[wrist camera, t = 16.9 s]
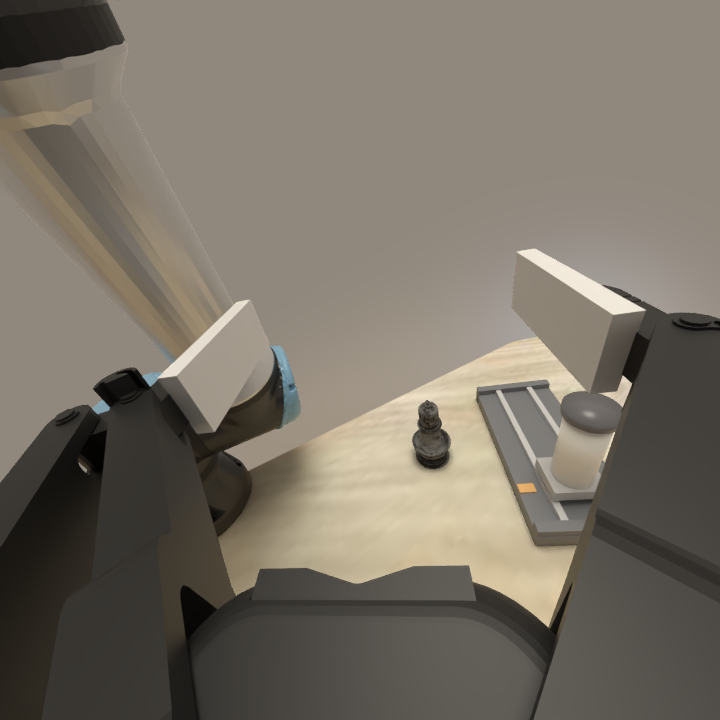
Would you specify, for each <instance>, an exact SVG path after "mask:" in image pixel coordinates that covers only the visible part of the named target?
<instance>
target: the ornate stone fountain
mask: <svg viewBox="0 0 720 720" xmlns="http://www.w3.org/2000/svg"><path fill="white" fill-rule="evenodd" d="M418 412H419V420H418V423H417V425H418V427H419V430H418V431H417V432H416V433H415V434H414V436H413V439H412V442H413V446H414V448H415V449H416V450H417V452H416V456H417V460H418V461H419V463H420V464H421V465H423V466H424V467H427V468H430V469H437V468H440V467H443V466H444V465H446V463H447V462H448V460H449V451H448V449H449V447H450V444H451V439H450V437H449V435H448V433H447V432H446V431H444V430H443V429H441V425H442V422H441V420H440V418H439V415H438V408H437V406H436V404H434V403H433V402H429V401H428V400H427V401H425V402H424V403H422V404H421V405H420V406H419V409H418Z"/></svg>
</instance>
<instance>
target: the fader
mask: <svg viewBox="0 0 720 720" xmlns="http://www.w3.org/2000/svg"><path fill="white" fill-rule="evenodd" d="M622 409H623V408H622V407H621V405H620V404H618V403H617V402H616V401H614V400H613V399H611V398H609V397H607V396H604V395H602V394H598V393H595V394H589V393H588V392H586V391H580V392H573V393H570V394H568V395H566V396H565V397H564V398H563V400H562V403H561V407H560V413H561V415H562V417H563V418H562V422H561V426H560V430H559V434H558V438H557V442H556V446H555V450H554V454H553V457H543V458H536V463H535V467H536V469H537V471H538V473H539V475H540V476H541V478H542V480H543V482H544V484H545V486H546V488H547V490H548V492H549V494H550V496H551V498H552V500H553V501H564V500H584V499H593V497H594V494H595V492H596V489H597V486H598V483H599V480H600V477H601V474H600V473H599V471H598V470H599V467H600V465H601V462H602V460H603V457H604V455H605V452H606V450H607V447H608V445H609V442H610V439H611V437H612V434H613V432H616V429H617V426H618V423H619V420H620V417H621V414H622V412H621V411H622Z"/></svg>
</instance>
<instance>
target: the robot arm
mask: <svg viewBox="0 0 720 720" xmlns="http://www.w3.org/2000/svg"><path fill="white" fill-rule="evenodd" d="M128 49H129V48H128V45H127V43H126V41H125V39H124V37H123V35H122V32H121V30H120V29H119V26H118V24H117V22H116V20H115V18H114V16H113V13H112V11H111V9H110V7H109V5H108V3H107V0H0V189H2V191H3V192H4V193H5V194H6V195H7V196H8V197H9V198H10V199H11V200H12V201H13V202H14V203H15V204H16V205H17V206H18V207H19V208H20V209H21V210H22V211H23V212H24V213H25V214H26V215H27V216H28V217H29V218H30V219H31V220H32V221H33V222H34V223H35V224H36V225H37V226H38V228H40V230H41V231H42V232H43V233H44V234H45V235H46V236H47V237H48V238H49V239H50V240H51V241H52V242H53V243H54V244H55V245H56V246H57V247H58V248H59V249H60V250H61V251H62V252H63V253H64V254H65V255H66V256H67V257H68V258H69V259H70V260H71V261H72V262H73V263H74V264H75V265H76V266H77V267H78V268H79V269H80V270H81V271H82V272H83V273H84V275H85V276H86V277H87V278H88V279H89V280H90V281H91V282H92V283H93V284H94V285H95V286H96V287H97V288H98V289H99V290H100V291H101V292H102V293H103V294H104V295H105V296H106V297H107V298H108V299H109V300H110V301H111V302H112V303H113V304H114V305H115V306H116V307H117V308H118V309H119V310H120V311H121V312H122V313H123V314H124V315H125V316H126V317H127V319H129V321H130V322H131V323H132V324H133V325H134V326H135V327H136V328H137V329H138V330H139V331H140V332H141V333H142V334H143V335H144V336H145V337H146V338H147V339H148V340H149V341H150V342H151V343H152V344H153V345H154V346H155V347H156V348H157V349H158V350H159V351H160V352H161V353H162V354H163V355H164V356H165V357H166V358H167V359H168V360H169V362H171V364H172V365H170V366H169V367H168V368H167V369H166V370H165V371H164V372H163V373H150V374H146V375H144V376H142V375H141V374H140V373H139V371H138V370H137V369H136V368H127V369H123V370H120V371H117V372H115V373H113V374H111V375H109V376H107V377H105V378H104V379H102V380H101V381H99V382H98V383H97V384H96V385H95V387H94V388H93V389H94V391H95V392H96V393H97V394H98V395H99V396H100V397H101V398H102V399H103V400H102V401H100V402H99V403H98V404H97V405H96V406H95V407H93V408H91V407H90V406H89V405H81V406H77V407H75V408H72V409H67V410H65V411H64V412H62V413H60V414H58V415H57V416H56V417H55V418H54V419H53V420H52V421H50V422H49V423H48V424H47V425H46V426H45V427H44V429H43V430H42V431H41V432H40V434H39V435H38V436H37V437H36V439H35V440H34V441H33V442H32V444H31V445H30V446H29V447H28V449H27V450H26V451H25V452H24V454H23V455H22V456H21V458H20V459H19V460H18V461H17V463H16V464H15V465H14V466H13V468H12V469H11V470H10V472H9V473H8V474H7V475H6V476H5V478H4V479H3V480H2V481H1V483H0V720H720V319H718V318H715V317H712V316H709V315H702V314H696V313H670V314H666V313H665V312H663V311H661V310H659V309H657V308H655V307H653V306H651V305H649V304H647V303H645V302H644V301H643V302H641V300H640V299H638V298H636V297H634V296H633V297H632V296H631V295H630V294H628V293H626V292H624V291H623V290H621V289H617V288H614V287H610V286H606V285H600V284H598V283H596V282H594V281H593V280H591V279H589V278H587V277H585V276H583V275H582V274H580V273H578V272H576V271H574V270H573V269H571V268H569V267H567V266H565V265H563V264H562V263H560V262H558V261H556V260H555V259H553V258H551V257H549V256H547V255H545V254H544V253H542V252H540V251H538V250H536V249H530V250H523V251H518V252H517V253H516V264H515V275H514V286H513V297H512V309H513V310H514V311H515V312H516V313H517V314H518V315H519V316H520V317H521V319H522V320H523V321H524V322H525V323H526V324H527V325H528V326H529V327H530V328H531V330H532V331H533V332H534V333H535V334H536V335H537V336H538V338H539V339H540V340H541V341H542V342H543V343H544V344H545V345H546V346H547V347H548V349H549V350H550V351H551V352H552V353H553V354H554V355H555V356H556V357H557V359H558V360H559V361H560V362H561V363H562V364H563V365H564V366H565V367H566V369H567V370H568V371H569V372H570V373H571V374H572V375H573V376H574V377H575V379H576V380H577V381H578V382H579V383H580V384H581V385H582V386H583V387H584V388H585V390H586V391H587V392H588V393H589V394H595V393H605V392H615V391H617V389H618V387H619V384H620V381H621V378H622V376H624V377H626V378H627V379H628V380H629V381H630V382H631V383H632V386H631V389H630V391H629V394H628V396H627V399H626V401H625V404H624V406H623V409H622V411H621V412H622V414H621V417H620V420H619V423H618V426H617V429H616V432H615V435H614V438H613V441H612V444H611V447H610V450H609V453H608V456H607V459H606V462H605V465H604V468H603V471H602V474H601V477H600V480H599V483H598V486H597V489H596V492H595V494H594V497H593V500H592V503H591V506H590V509H589V512H588V515H587V518H586V521H585V524H584V527H583V530H582V533H581V536H580V539H579V542H578V545H577V548H576V551H575V554H574V557H573V560H572V563H571V566H570V569H569V572H568V575H567V578H566V580H565V583H564V586H563V589H562V592H561V594H560V597H559V600H558V602H557V605H556V608H555V610H554V613H553V616H552V619H551V622H550V625H549V627H547V626H546V625H545V624H544V623H542V622H541V621H540V620H539V619H538V618H537V617H536V616H534V615H533V614H532V613H531V612H529V611H528V610H527V609H525V608H524V607H523V606H521V605H520V604H518V603H517V602H516V601H514V600H512V599H510V598H509V597H507V596H505V595H503V594H502V593H500V592H498V591H496V590H493V589H491V588H489V587H486V586H484V585H481V584H477V583H474V582H472V577H471V573H470V568H469V566H413V567H410V568H407V569H404V570H401V571H398V572H395V573H392V574H389V575H385V576H382V577H379V578H376V579H373V580H370V581H367V582H364V583H360V584H354V583H350V582H347V581H344V580H341V579H338V578H335V577H332V576H329V575H326V574H323V573H320V572H317V571H314V570H311V569H308V568H287V569H260V571H259V574H258V578H257V581H256V584H255V587H252V588H250V589H248V590H246V591H244V592H242V593H240V594H239V595H237V596H236V595H235V593H234V591H233V589H232V587H231V584H230V581H229V577H228V574H227V570H226V567H225V563H224V559H223V556H222V552H221V549H220V545H219V542H218V538H217V536H219V535H220V534H221V533H222V532H224V531H225V530H226V529H227V528H228V527H229V526H230V525H231V524H232V523H233V522H234V521H235V519H236V518H237V517H238V516H239V514H240V513H241V511H242V510H243V508H244V506H245V504H246V502H247V500H248V498H249V495H250V491H251V477H250V474H249V472H248V471H247V469H246V468H245V466H244V465H243V463H242V462H241V461H240V460H238V459H237V458H235V457H233V456H232V455H230V454H228V453H226V452H224V450H226V449H229V448H231V447H233V446H236V445H238V444H240V443H243V442H245V441H248V440H250V439H252V438H255V437H257V436H260V435H262V434H264V433H267V432H269V431H272V430H274V429H280V428H282V427H283V425H285V424H288V423H290V422H292V421H294V420H295V419H297V418H298V416H299V415H300V411H301V406H300V401H299V396H298V392H297V389H296V386H295V382H294V378H293V375H292V371H291V368H290V365H289V362H288V360H287V357H286V355H285V352H284V350H283V348H282V347H280V346H269V342H268V340H267V337H266V335H265V333H264V330H263V328H262V326H261V323H260V321H259V319H258V316H257V314H256V312H255V310H254V307H253V305H252V303H251V300H245V301H240V302H236V303H235V305H234V304H233V302H232V300H231V298H230V297H229V294H228V293H227V291H226V289H225V287H224V285H223V283H222V281H221V280H220V278H219V276H218V274H217V272H216V270H215V268H214V266H213V265H212V263H211V261H210V259H209V257H208V255H207V253H206V251H205V249H204V248H203V246H202V244H201V242H200V240H199V238H198V237H197V235H196V233H195V231H194V229H193V227H192V225H191V223H190V221H189V220H188V218H187V216H186V214H185V212H184V210H183V208H182V207H181V205H180V203H179V201H178V199H177V197H176V195H175V194H174V191H173V190H172V188H171V186H170V184H169V182H168V180H167V178H166V176H165V175H164V173H163V171H162V169H161V167H160V165H159V163H158V161H157V160H156V158H155V156H154V154H153V152H152V150H151V148H150V147H149V145H148V143H147V141H146V139H145V137H144V135H143V133H142V131H141V130H140V128H139V126H138V124H137V122H136V120H135V118H134V116H133V115H132V113H131V111H130V109H129V107H128V105H127V103H126V102H125V100H124V97H123V93H122V90H121V81H122V77H123V72H124V67H125V62H126V57H127V53H128ZM78 462H79V463H80V464H81V465H82V466H84V467H85V468H86V469H87V472H86V473H85V472H84V471H83V470H82V469H81V467H80V466H79V463H78Z"/></svg>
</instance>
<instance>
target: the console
mask: <svg viewBox="0 0 720 720" xmlns="http://www.w3.org/2000/svg"><path fill="white" fill-rule="evenodd" d="M476 399H477V402H478V404H479V407H480V409H481V411H482V414H483V416H484V419H485V421H486V424H487V426H488V429H489V431H490V434H491V436H492V439H493V441H494V444H495V446H496V449H497V451H498V454H499V456H500V459H501V461H502V464H503V466H504V469H505V471H506V474H507V476H508V478H509V481H510V483H511V486H512V488H513V491H514V493H515V496H516V498H517V501H518V503H519V506H520V508H521V511H522V513H523V516H524V518H525V521H526V523H527V526H528V528H529V531H530V533H531V536H532V538H533V541H534V543H535V546H547V545H578V542H579V539H580V536H581V533H582V530H583V527H584V524H585V521H586V518H587V515H588V512H589V509H590V506H591V503H592V500H593V499H584V500H564V501H553V500H552V498H551V496H550V494H549V492H548V490H547V488H546V486H545V484H544V482H543V480H542V478H541V476H540V475H539V473H538V471H537V469H536V467H535V463H536V458H543V457H553V454H554V450H555V446H556V442H557V438H558V434H559V430H560V426H561V422H562V418H563V417H562V415H561V413H560V407H561V404H560V403H559V401H558V400H557V399H556V397H555V396H554V394H553V393H552V392H551V390H550V389H549V382H548V381H547V380H538V381H529V382H520V383H511V384H502V385H493V386H484V387H477V398H476ZM604 465H605V463H604V462H603V460H602V462H601V465H600V467H599V470H598V471H599V473H600V474H602V471H603V468H604Z"/></svg>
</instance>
